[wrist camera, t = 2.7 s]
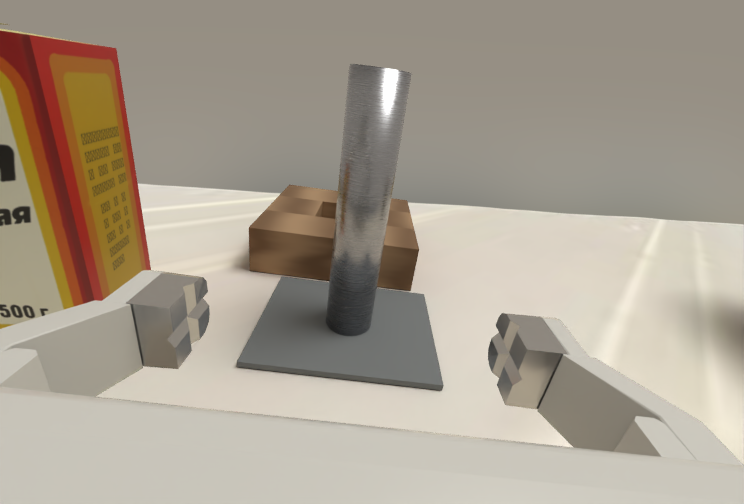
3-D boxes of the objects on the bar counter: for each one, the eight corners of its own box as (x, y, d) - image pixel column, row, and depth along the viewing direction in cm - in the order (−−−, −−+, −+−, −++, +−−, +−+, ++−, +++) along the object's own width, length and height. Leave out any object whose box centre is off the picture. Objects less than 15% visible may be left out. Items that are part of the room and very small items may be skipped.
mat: (237, 366, 20) (237, 361, 20) (281, 280, 29) (281, 276, 29) (441, 390, 21) (443, 385, 20) (422, 298, 30) (423, 294, 29)
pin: (322, 333, 23) (346, 62, 16) (329, 305, 26) (351, 66, 19) (370, 338, 23) (414, 72, 16) (371, 311, 26) (408, 74, 19)
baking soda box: (153, 286, 26) (114, 40, 19) (105, 345, 20) (26, 23, 14) (6, 281, 24) (-93, 9, 18) (-92, 343, 19) (-295, -25, 12)
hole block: (249, 270, 30) (248, 227, 28) (288, 216, 43) (289, 184, 41) (410, 290, 30) (418, 249, 29) (401, 231, 43) (407, 200, 41)
